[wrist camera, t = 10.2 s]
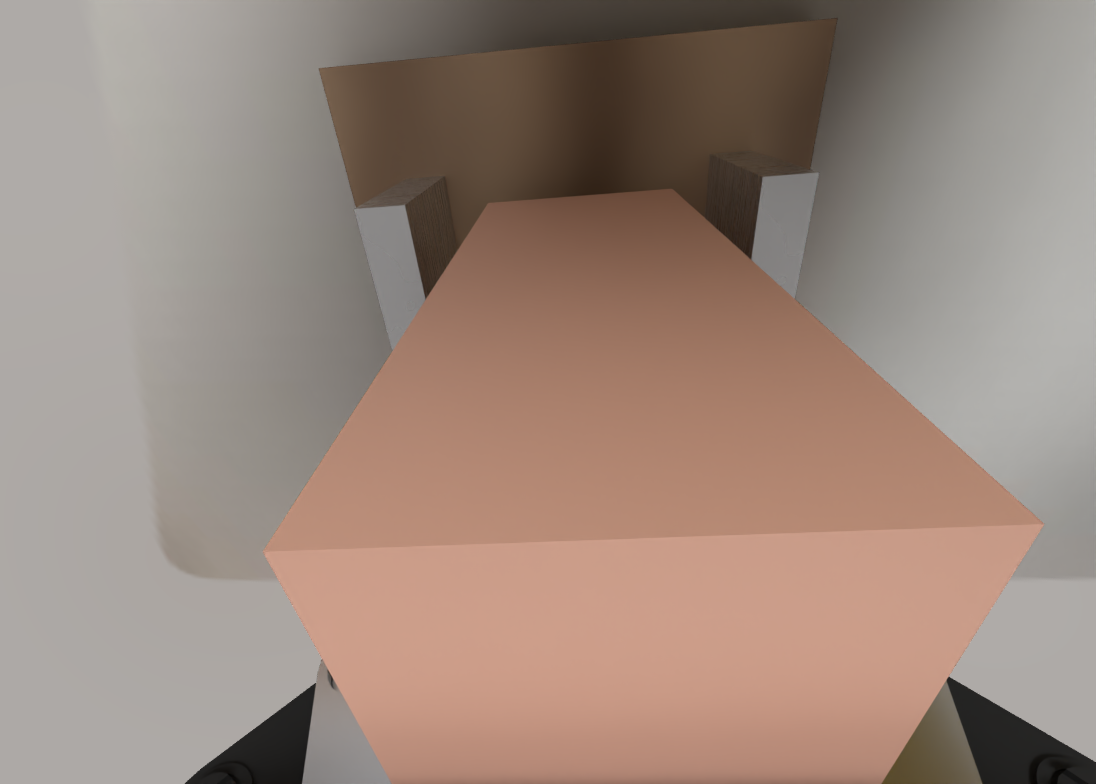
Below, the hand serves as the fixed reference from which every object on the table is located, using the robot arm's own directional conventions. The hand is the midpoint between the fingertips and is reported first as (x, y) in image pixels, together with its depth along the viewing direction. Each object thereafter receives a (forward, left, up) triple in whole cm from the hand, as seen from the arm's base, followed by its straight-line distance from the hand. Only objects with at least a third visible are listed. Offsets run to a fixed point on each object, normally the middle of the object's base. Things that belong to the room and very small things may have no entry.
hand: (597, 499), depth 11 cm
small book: (0, 0, -6) cm, 6 cm away
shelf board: (0, 0, -10) cm, 10 cm away
